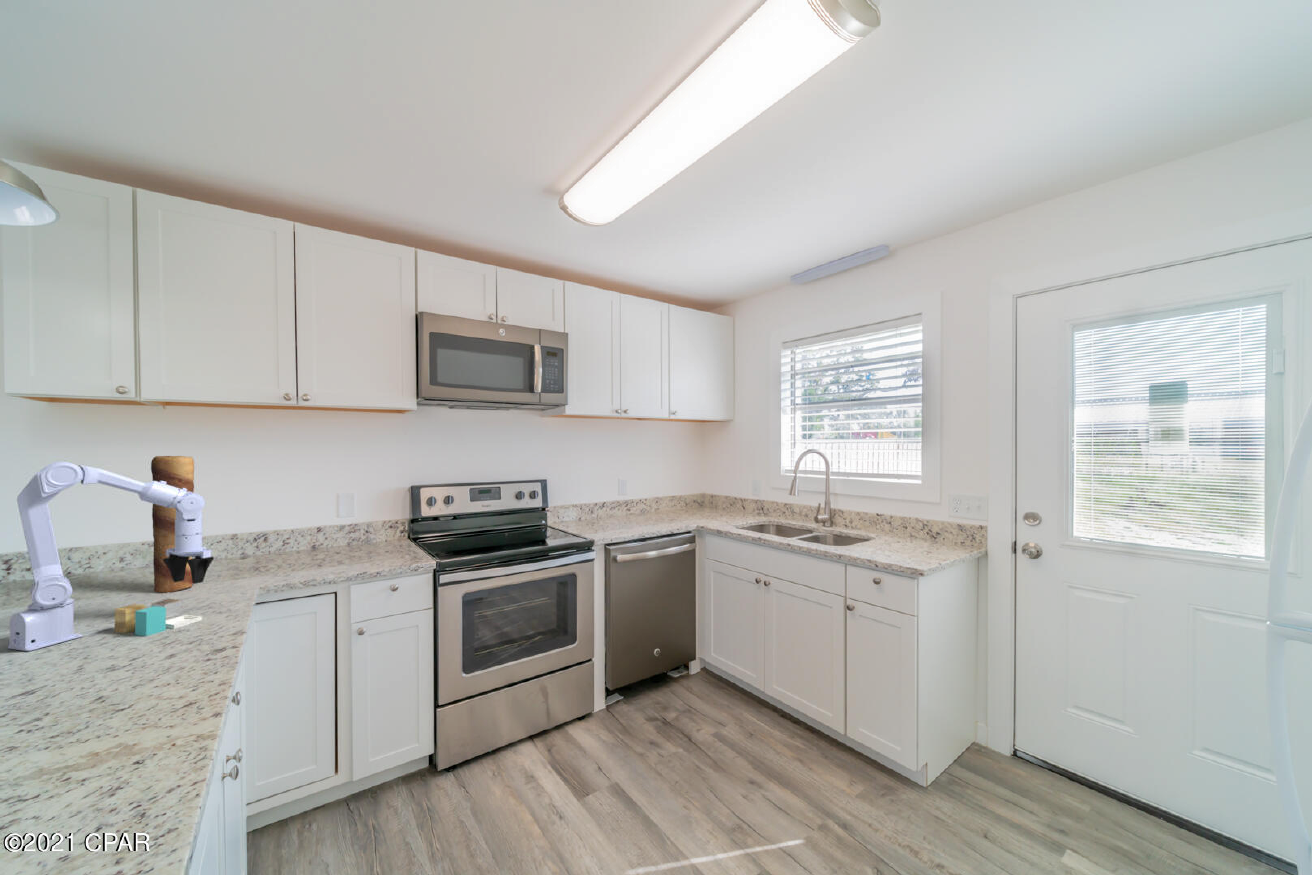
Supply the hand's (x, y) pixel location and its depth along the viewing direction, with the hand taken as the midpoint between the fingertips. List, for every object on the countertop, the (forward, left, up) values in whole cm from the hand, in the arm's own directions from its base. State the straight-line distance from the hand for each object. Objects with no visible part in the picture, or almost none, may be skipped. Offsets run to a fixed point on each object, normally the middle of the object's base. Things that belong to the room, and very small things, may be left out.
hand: (188, 582), depth 141 cm
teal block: (-13, -7, -9) cm, 17 cm away
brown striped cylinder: (+17, +35, -9) cm, 40 cm away
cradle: (-6, -7, -9) cm, 13 cm away
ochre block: (-13, 0, -9) cm, 16 cm away
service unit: (-5, 0, -9) cm, 10 cm away
